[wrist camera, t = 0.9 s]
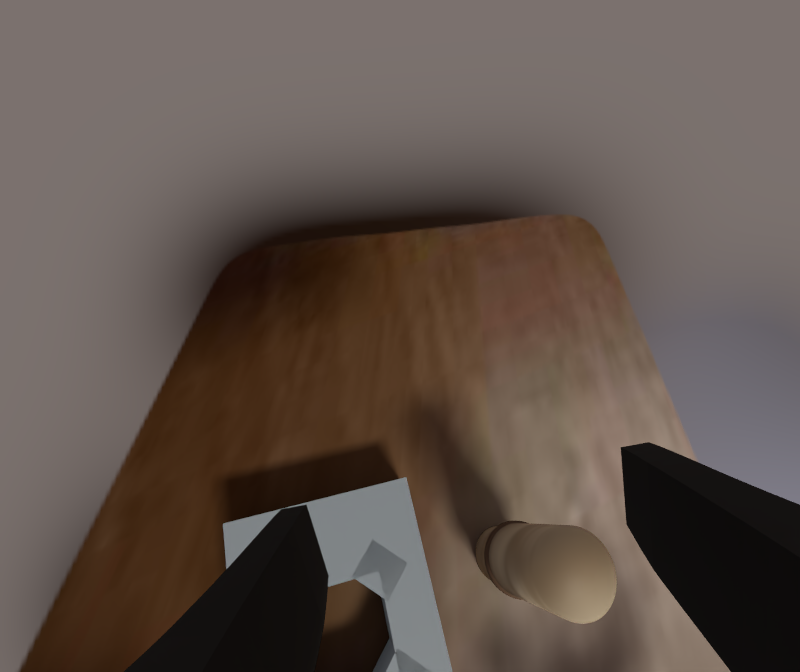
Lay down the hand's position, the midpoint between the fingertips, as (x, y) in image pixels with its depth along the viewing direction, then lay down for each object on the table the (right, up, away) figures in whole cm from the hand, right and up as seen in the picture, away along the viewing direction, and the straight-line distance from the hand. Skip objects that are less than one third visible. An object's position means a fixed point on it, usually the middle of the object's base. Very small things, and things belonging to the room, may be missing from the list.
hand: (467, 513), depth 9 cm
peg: (+4, -8, +13) cm, 16 cm away
